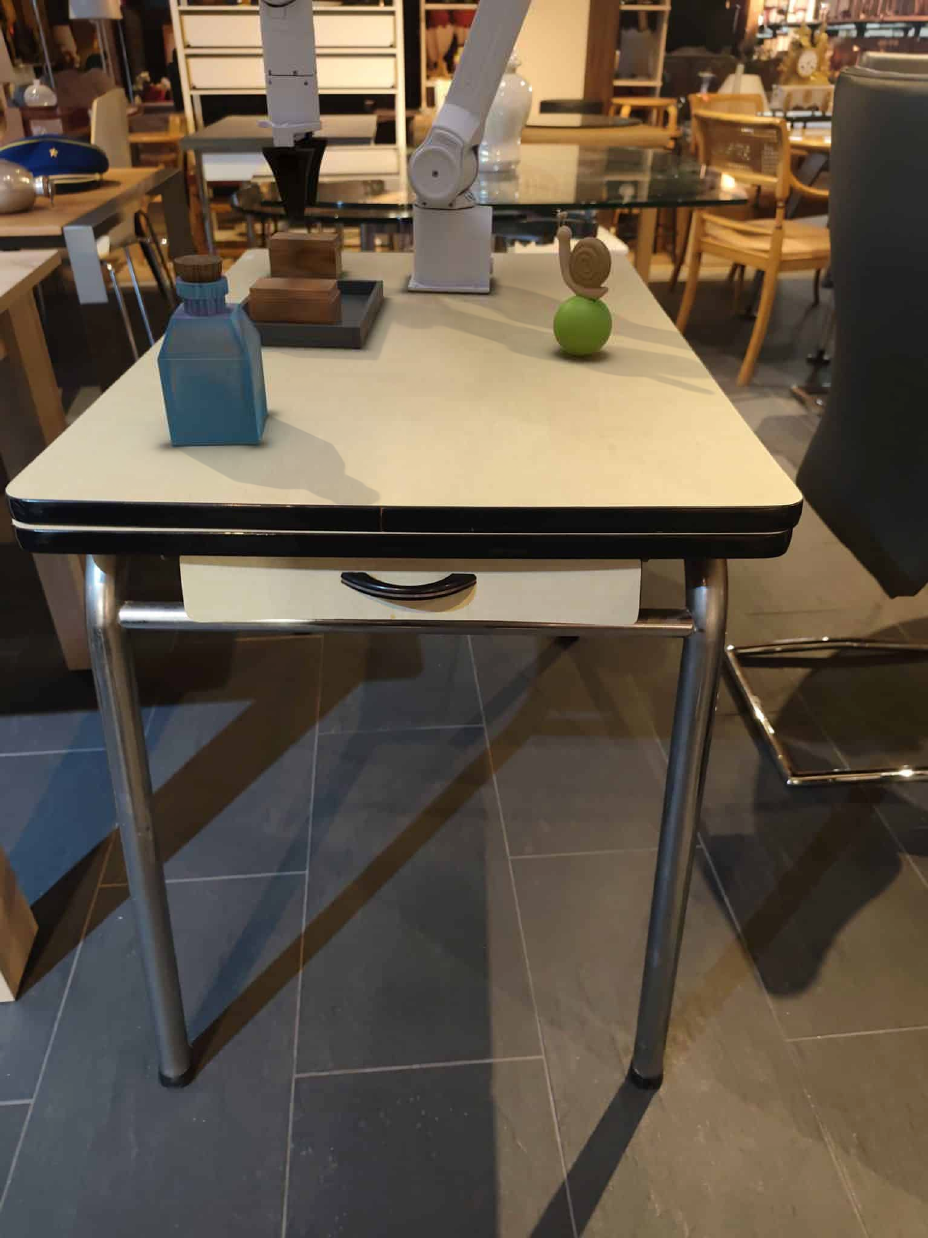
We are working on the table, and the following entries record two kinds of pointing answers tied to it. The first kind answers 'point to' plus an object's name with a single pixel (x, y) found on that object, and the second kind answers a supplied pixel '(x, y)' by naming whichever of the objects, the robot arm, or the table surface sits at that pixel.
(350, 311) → the tray
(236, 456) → the table surface
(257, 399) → the perfume bottle
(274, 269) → the brown lidded wooden box
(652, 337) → the table surface
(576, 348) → the snail figurine
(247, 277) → the table surface
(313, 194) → the robot arm
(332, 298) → the brown wooden block
